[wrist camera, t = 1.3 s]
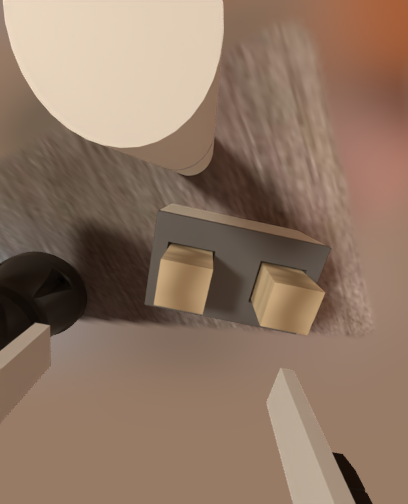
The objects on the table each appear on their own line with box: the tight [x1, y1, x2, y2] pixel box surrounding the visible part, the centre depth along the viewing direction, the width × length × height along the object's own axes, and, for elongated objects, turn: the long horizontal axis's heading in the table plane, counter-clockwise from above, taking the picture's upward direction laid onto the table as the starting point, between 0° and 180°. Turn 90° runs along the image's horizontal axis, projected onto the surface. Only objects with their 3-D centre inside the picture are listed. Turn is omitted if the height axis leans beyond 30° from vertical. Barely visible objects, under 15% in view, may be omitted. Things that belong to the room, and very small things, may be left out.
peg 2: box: [250, 261, 325, 335], centre depth 25 cm, size 5×5×8 cm
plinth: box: [144, 204, 331, 334], centre depth 31 cm, size 20×12×10 cm, turn 78°
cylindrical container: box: [3, 0, 224, 176], centre depth 19 cm, size 7×7×25 cm
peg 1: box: [154, 243, 213, 315], centre depth 25 cm, size 5×5×8 cm
